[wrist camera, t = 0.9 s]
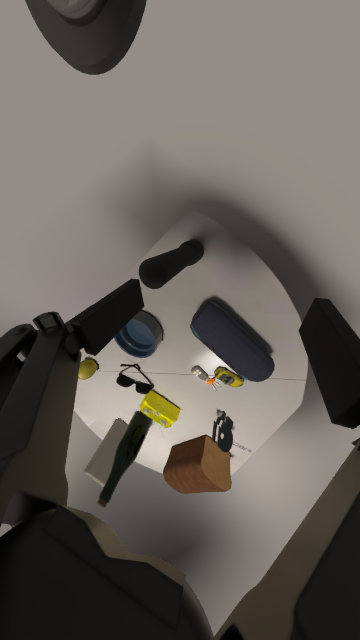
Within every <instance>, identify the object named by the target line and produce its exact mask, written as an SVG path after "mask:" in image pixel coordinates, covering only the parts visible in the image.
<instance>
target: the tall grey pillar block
mask: <svg viewBox="0 0 360 640" xmlns="http://www.w3.org/2000/svg"><path fill="white" fill-rule="evenodd" d="M127 426H128V425H127V424H126V423H124V422H123V421H122V420H121V419H117V420H115V421H114V423H113V425H112V427H111V428H110V430H109V431H108V433H107V435H106V436H105V438H104V440H103V441H102V443H101V445H100V446H99V448H98V449H97V451H96V453H95V454H94V456H93V457H92V459H91V461H90V462H89V464H88V465H87V467H86V469H85V471H84V473H85V474H86V475H88V476H89V477H91V478H92V479H94V480H95V481H96V482H98V483H99V484H100V485H102V486H103V487H104V486H105V484H106V481H107V479H108V477H109V475H110V472H111V469H112V465H113V461H114V456H115V452H116V449H117V446H118V444H119V442H120V440H121V438H122V436H123V434H124V432H125V430H126V428H127Z"/></svg>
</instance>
